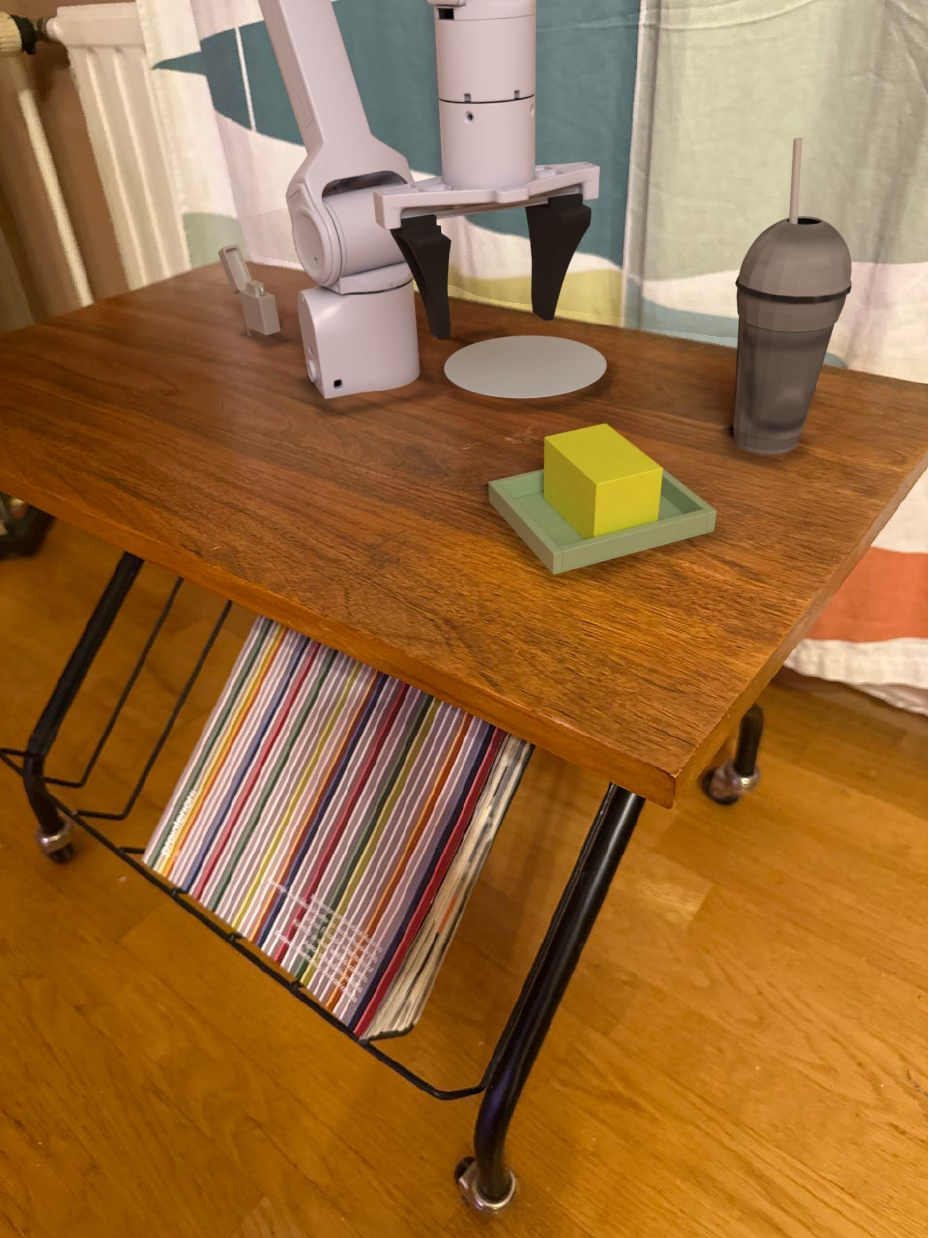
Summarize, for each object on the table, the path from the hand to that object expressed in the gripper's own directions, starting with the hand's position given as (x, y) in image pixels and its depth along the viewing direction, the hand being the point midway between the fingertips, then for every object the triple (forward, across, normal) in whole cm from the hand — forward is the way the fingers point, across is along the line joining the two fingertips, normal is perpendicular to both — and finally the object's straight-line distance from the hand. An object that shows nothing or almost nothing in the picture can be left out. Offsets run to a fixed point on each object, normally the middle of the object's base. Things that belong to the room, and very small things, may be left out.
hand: (492, 325), depth 61 cm
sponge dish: (+9, +2, -12) cm, 15 cm away
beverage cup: (+10, +18, -8) cm, 22 cm away
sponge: (+9, +2, -12) cm, 15 cm away
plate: (+9, +8, +12) cm, 17 cm away
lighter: (+10, -11, +34) cm, 37 cm away
